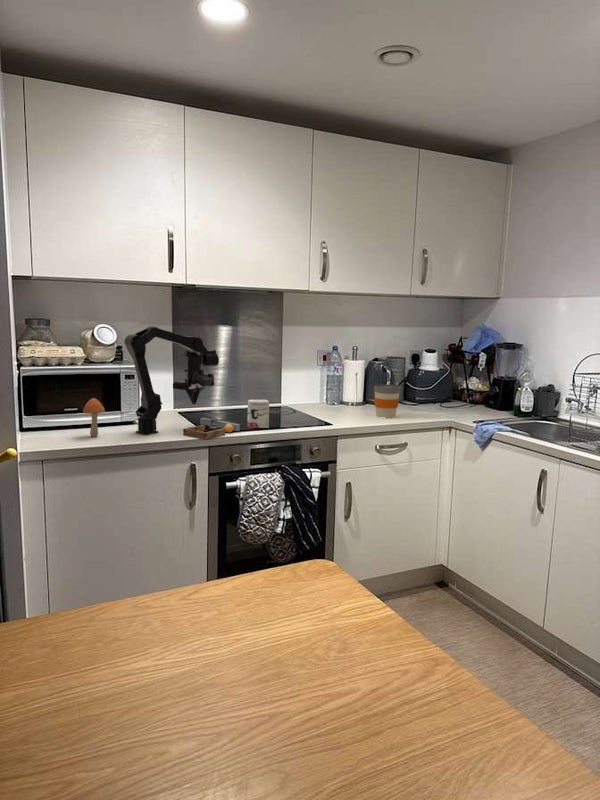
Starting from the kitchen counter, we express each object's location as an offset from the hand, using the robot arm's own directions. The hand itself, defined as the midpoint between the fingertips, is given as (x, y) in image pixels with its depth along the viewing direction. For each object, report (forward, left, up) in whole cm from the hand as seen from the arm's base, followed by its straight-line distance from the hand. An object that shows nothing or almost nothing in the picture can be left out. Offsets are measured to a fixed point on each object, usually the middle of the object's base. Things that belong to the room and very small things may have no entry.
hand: (194, 404), depth 239 cm
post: (+6, -6, -10) cm, 13 cm away
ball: (+2, -17, -8) cm, 19 cm away
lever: (+6, -9, -9) cm, 14 cm away
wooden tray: (-8, -13, -10) cm, 18 cm away
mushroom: (-37, +16, -10) cm, 42 cm away
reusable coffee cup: (+80, -49, -10) cm, 94 cm away
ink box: (+18, -20, -10) cm, 29 cm away
